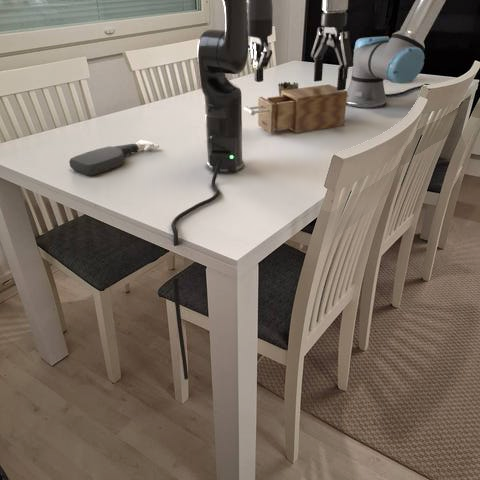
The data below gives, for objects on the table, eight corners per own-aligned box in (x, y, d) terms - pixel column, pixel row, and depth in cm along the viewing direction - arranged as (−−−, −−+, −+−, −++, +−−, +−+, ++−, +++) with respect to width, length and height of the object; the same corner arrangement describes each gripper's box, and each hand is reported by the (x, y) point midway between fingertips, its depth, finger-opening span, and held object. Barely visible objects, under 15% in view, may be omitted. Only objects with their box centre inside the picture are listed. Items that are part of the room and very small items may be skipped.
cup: (274, 107, 166) (275, 85, 162) (282, 102, 172) (282, 80, 168) (293, 109, 163) (294, 87, 159) (300, 104, 169) (301, 82, 165)
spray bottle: (67, 168, 120) (139, 144, 136) (91, 178, 114) (163, 151, 130) (65, 157, 118) (137, 134, 134) (89, 167, 112) (162, 142, 128)
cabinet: (295, 133, 141) (297, 98, 136) (280, 124, 150) (281, 90, 144) (343, 125, 147) (347, 91, 142) (326, 116, 156) (329, 84, 150)
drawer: (253, 136, 137) (253, 106, 132) (241, 127, 144) (241, 99, 139) (317, 126, 144) (319, 97, 139) (302, 118, 151) (304, 91, 147)
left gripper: (282, 18, 120) (280, 84, 130) (260, 14, 131) (260, 75, 140) (257, 20, 118) (256, 87, 127) (237, 15, 128) (238, 78, 137)
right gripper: (371, 14, 124) (362, 92, 135) (322, 7, 143) (318, 76, 155) (348, 16, 122) (341, 95, 133) (302, 9, 141) (299, 78, 152)
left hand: (258, 81), depth 134 cm, fingers closed
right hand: (329, 85), depth 144 cm, fingers open, 13 cm apart
